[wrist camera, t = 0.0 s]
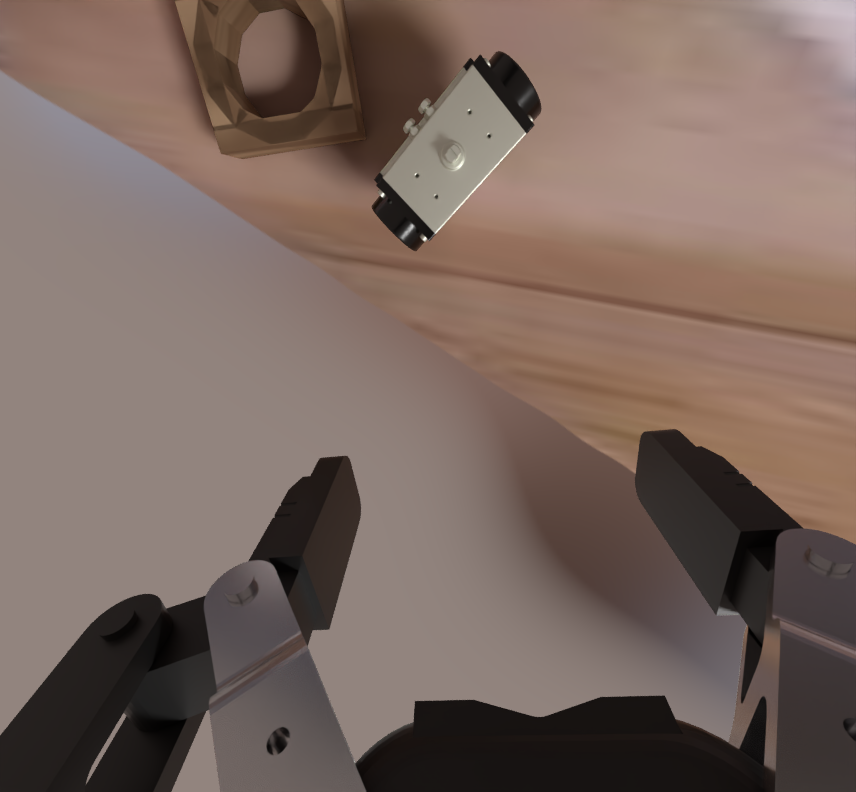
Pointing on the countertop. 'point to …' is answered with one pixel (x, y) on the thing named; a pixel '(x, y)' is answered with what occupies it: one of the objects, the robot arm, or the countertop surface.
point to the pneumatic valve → (455, 147)
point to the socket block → (224, 94)
